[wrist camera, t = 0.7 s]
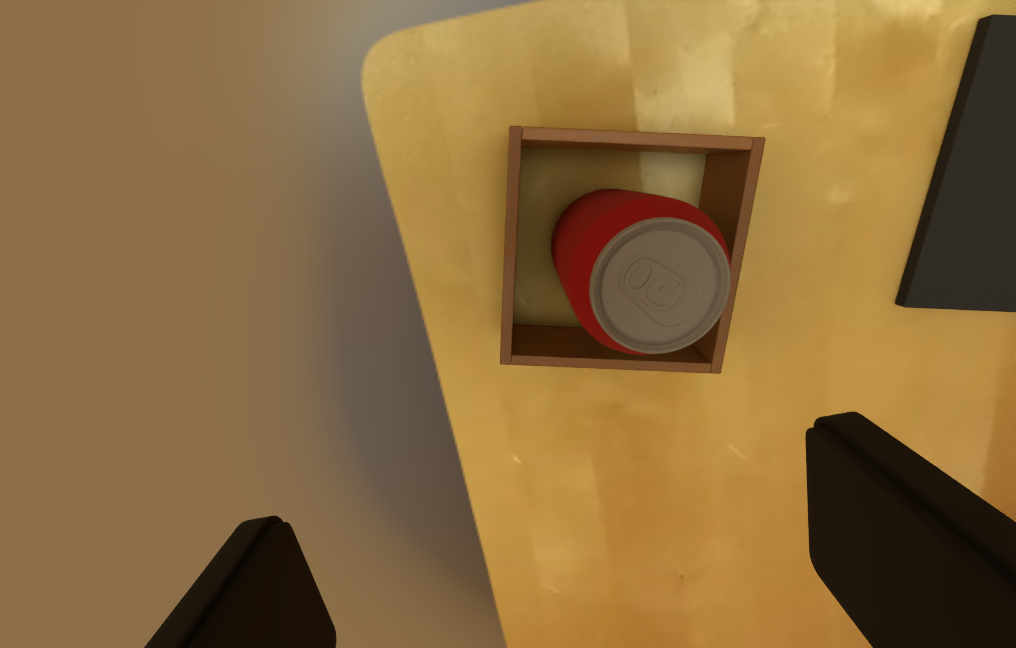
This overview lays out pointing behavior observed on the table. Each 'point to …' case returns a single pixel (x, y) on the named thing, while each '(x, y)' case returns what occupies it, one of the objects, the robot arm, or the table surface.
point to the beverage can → (641, 269)
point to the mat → (972, 189)
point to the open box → (721, 201)
